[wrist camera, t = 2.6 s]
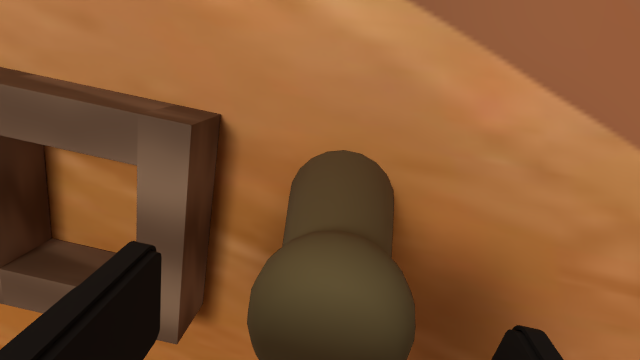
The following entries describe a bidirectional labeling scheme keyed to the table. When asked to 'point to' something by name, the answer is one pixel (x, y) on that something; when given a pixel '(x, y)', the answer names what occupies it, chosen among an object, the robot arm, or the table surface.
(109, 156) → the walnut holder
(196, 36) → the table surface
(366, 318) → the olive knobbed peg
